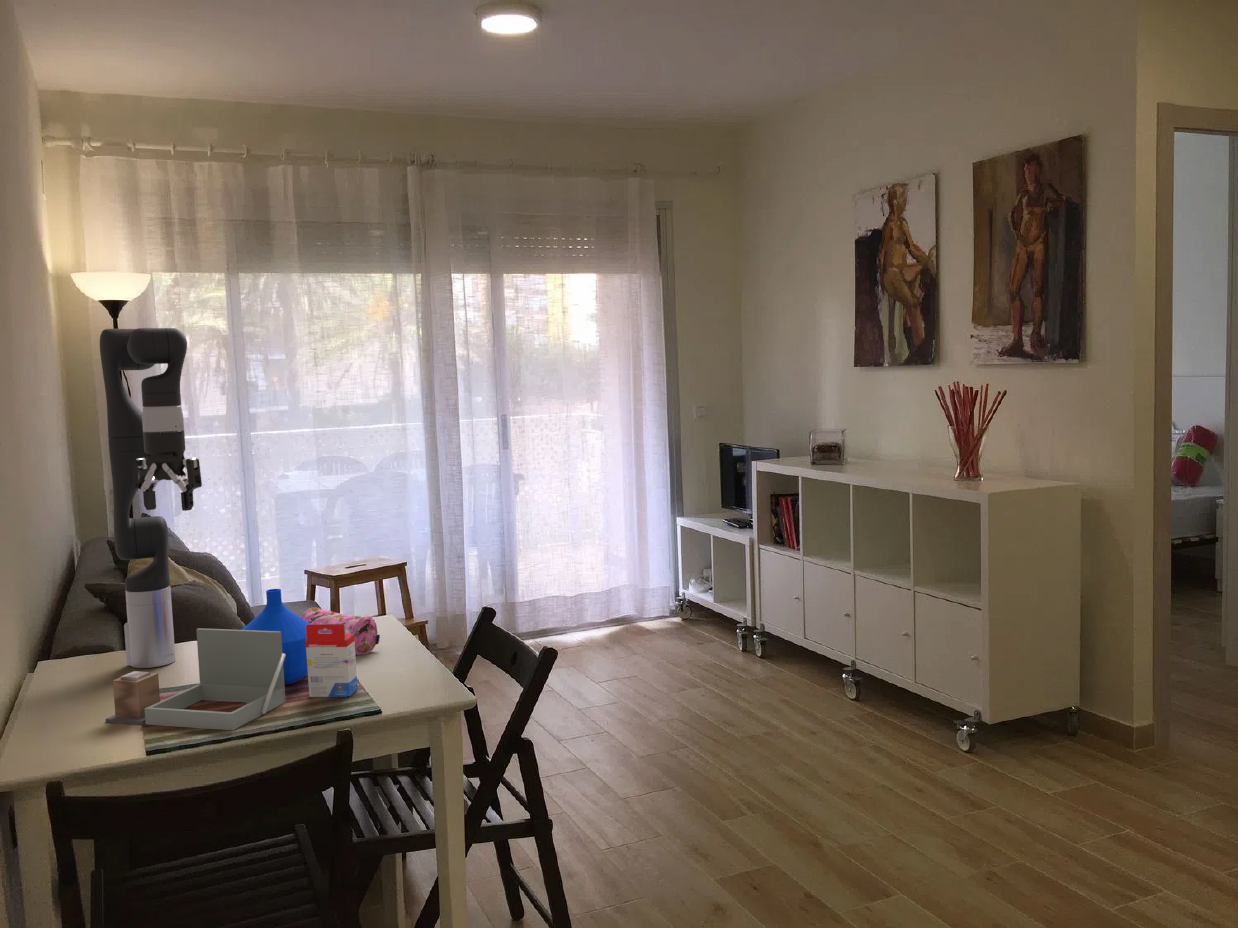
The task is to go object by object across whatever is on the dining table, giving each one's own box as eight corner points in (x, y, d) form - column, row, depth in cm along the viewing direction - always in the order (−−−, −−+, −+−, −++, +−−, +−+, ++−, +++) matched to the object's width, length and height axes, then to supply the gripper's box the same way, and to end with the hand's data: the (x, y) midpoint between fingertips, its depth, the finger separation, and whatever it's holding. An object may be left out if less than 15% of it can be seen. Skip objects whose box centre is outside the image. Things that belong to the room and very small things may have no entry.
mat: (105, 721, 191) (105, 718, 191) (136, 708, 198) (135, 705, 198) (141, 724, 189) (141, 721, 189) (171, 710, 196) (171, 707, 196)
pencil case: (384, 650, 237) (382, 612, 237) (353, 659, 230) (351, 620, 229) (324, 639, 250) (322, 603, 249) (292, 647, 242) (290, 611, 241)
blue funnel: (215, 682, 214) (210, 592, 213) (294, 662, 228) (289, 578, 226) (261, 698, 202) (256, 603, 201) (341, 676, 216) (336, 587, 214)
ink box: (358, 690, 206) (354, 618, 205) (349, 697, 201) (345, 624, 200) (317, 690, 207) (313, 618, 206) (307, 697, 202) (303, 624, 201)
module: (115, 716, 192) (112, 677, 191) (136, 707, 197) (133, 669, 196) (140, 718, 190) (137, 679, 190) (160, 709, 195) (157, 670, 195)
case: (145, 724, 189) (140, 649, 188) (203, 697, 204) (199, 628, 203) (236, 730, 184) (232, 653, 182) (289, 702, 199) (285, 631, 198)
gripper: (119, 430, 202) (125, 512, 203) (181, 429, 198) (186, 513, 199) (146, 428, 209) (152, 507, 210) (206, 427, 205) (211, 507, 207)
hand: (169, 509), depth 205 cm, fingers open, 8 cm apart
